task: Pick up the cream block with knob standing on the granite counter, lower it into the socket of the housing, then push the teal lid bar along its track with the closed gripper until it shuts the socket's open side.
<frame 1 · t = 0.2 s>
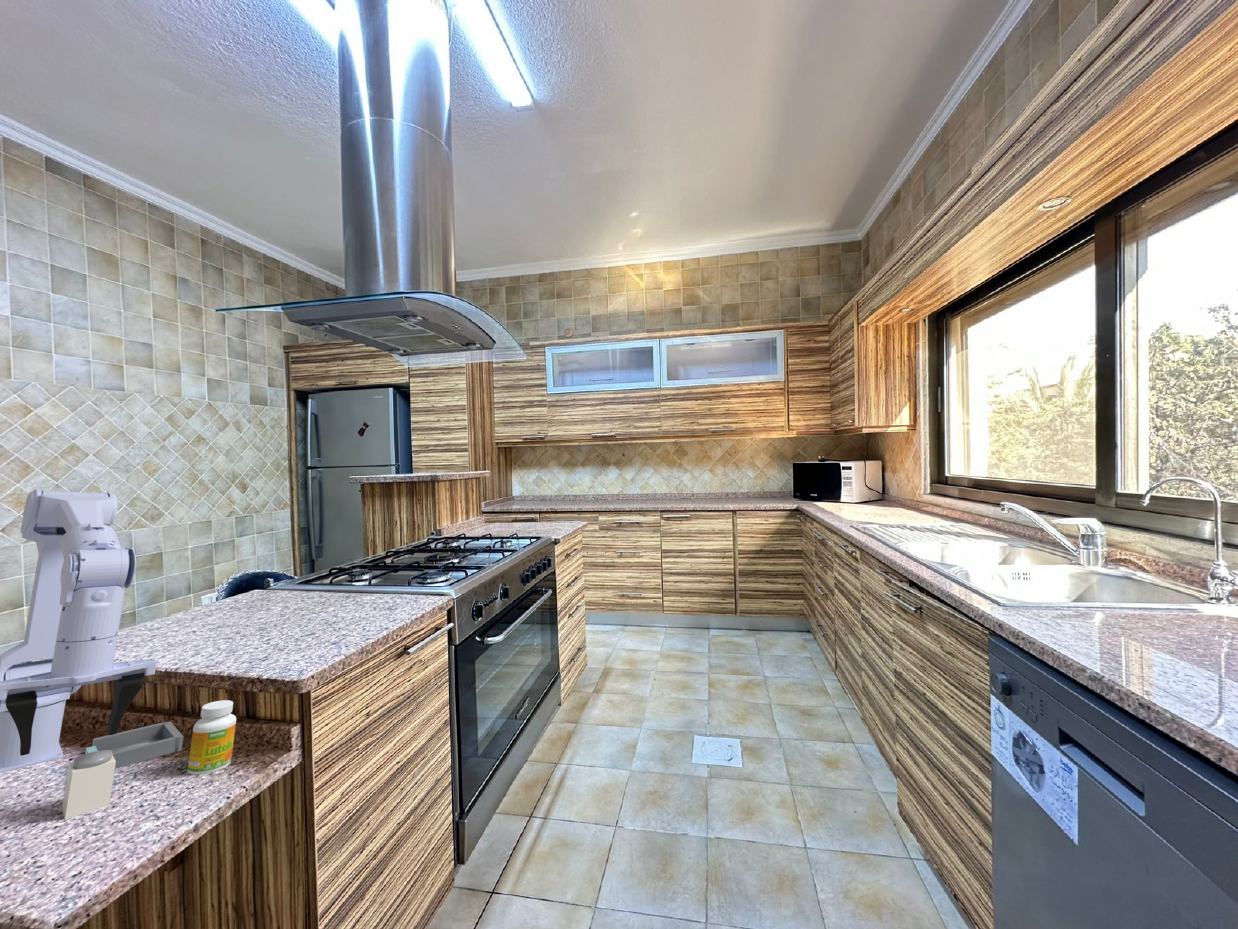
hand: (70, 742, 63), 10 cm above the counter, tool pointing down, fingers open, 7 cm apart
supplement bottle: (209, 769, 76), on the counter
lid: (95, 765, 72), point 2 cm above the counter, slide at 4.0 cm, touching housing
housing: (134, 753, 80), on the counter
cream block with knob: (85, 809, 65), on the counter
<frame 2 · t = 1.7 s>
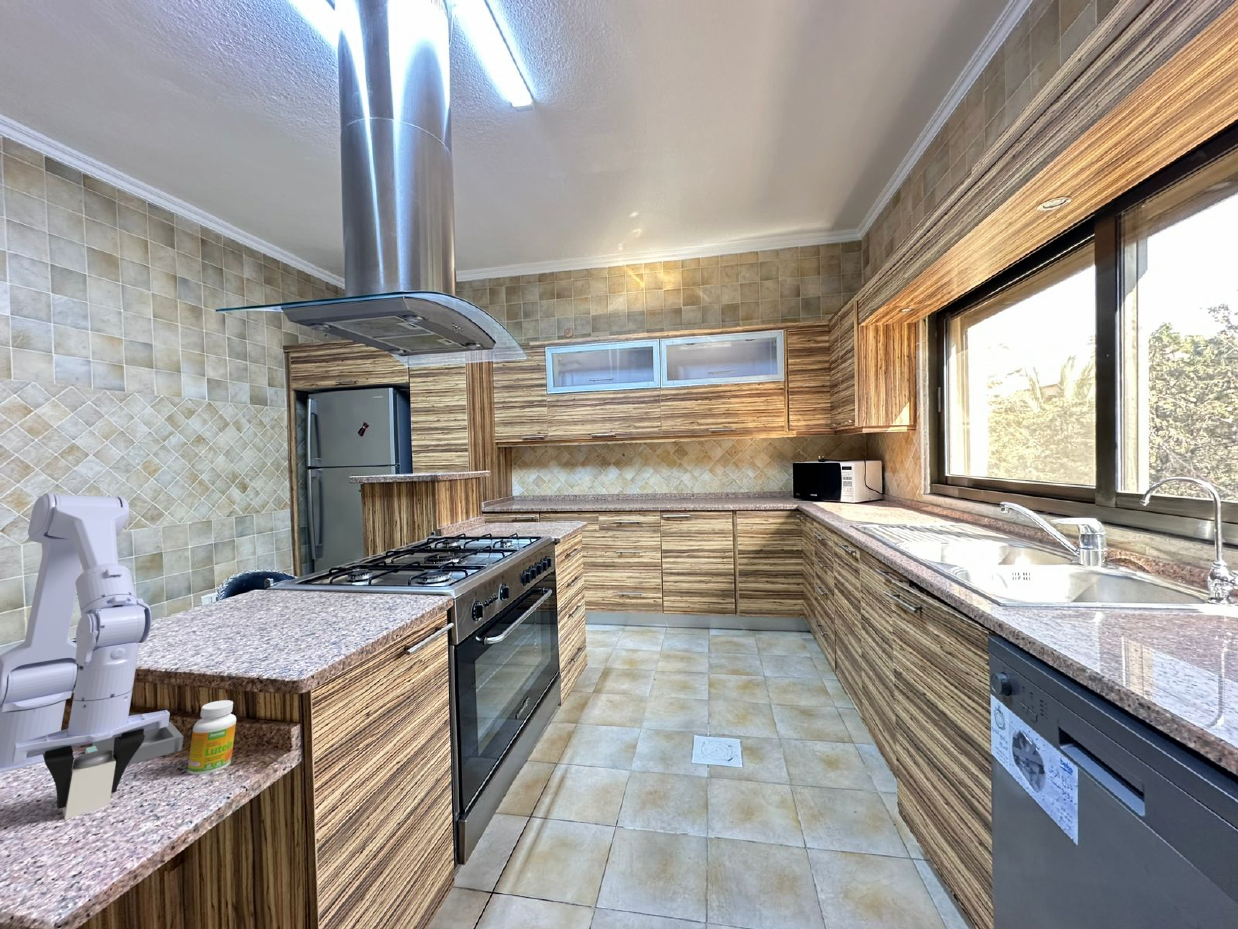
hand: (87, 797, 65), 1 cm above the counter, tool pointing down, fingers closed on cream block with knob, 4 cm apart
cream block with knob: (85, 809, 65), on the counter, touching gripper
everything else where it was.
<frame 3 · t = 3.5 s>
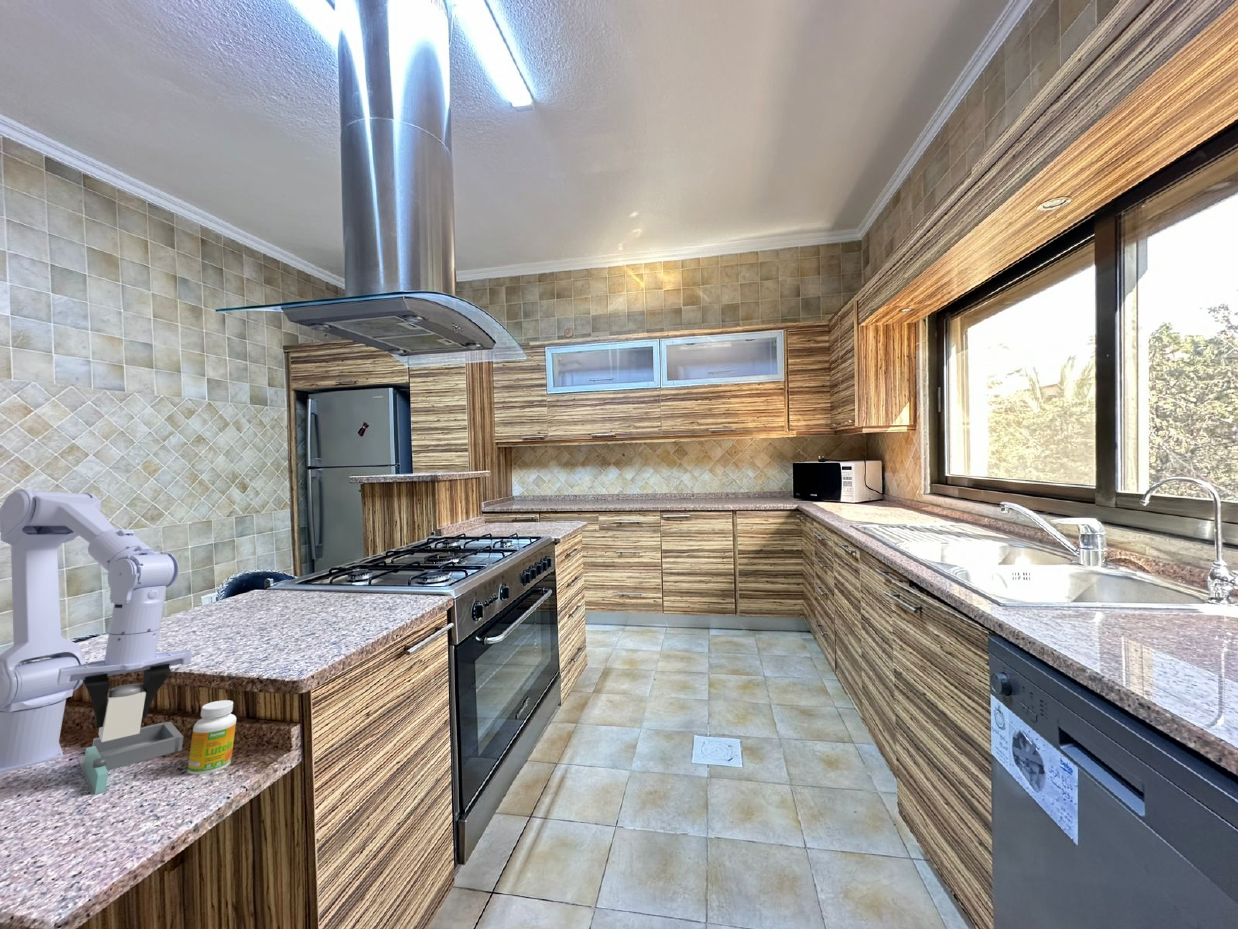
hand: (120, 721, 73), 8 cm above the counter, tool pointing down, fingers closed on cream block with knob, 4 cm apart
cream block with knob: (119, 733, 73), point 7 cm above the counter, touching gripper
everything else where it was.
when the fingers open (3 cm above the counter, at t = 5.4 s): cream block with knob stays where it is, resting on housing.
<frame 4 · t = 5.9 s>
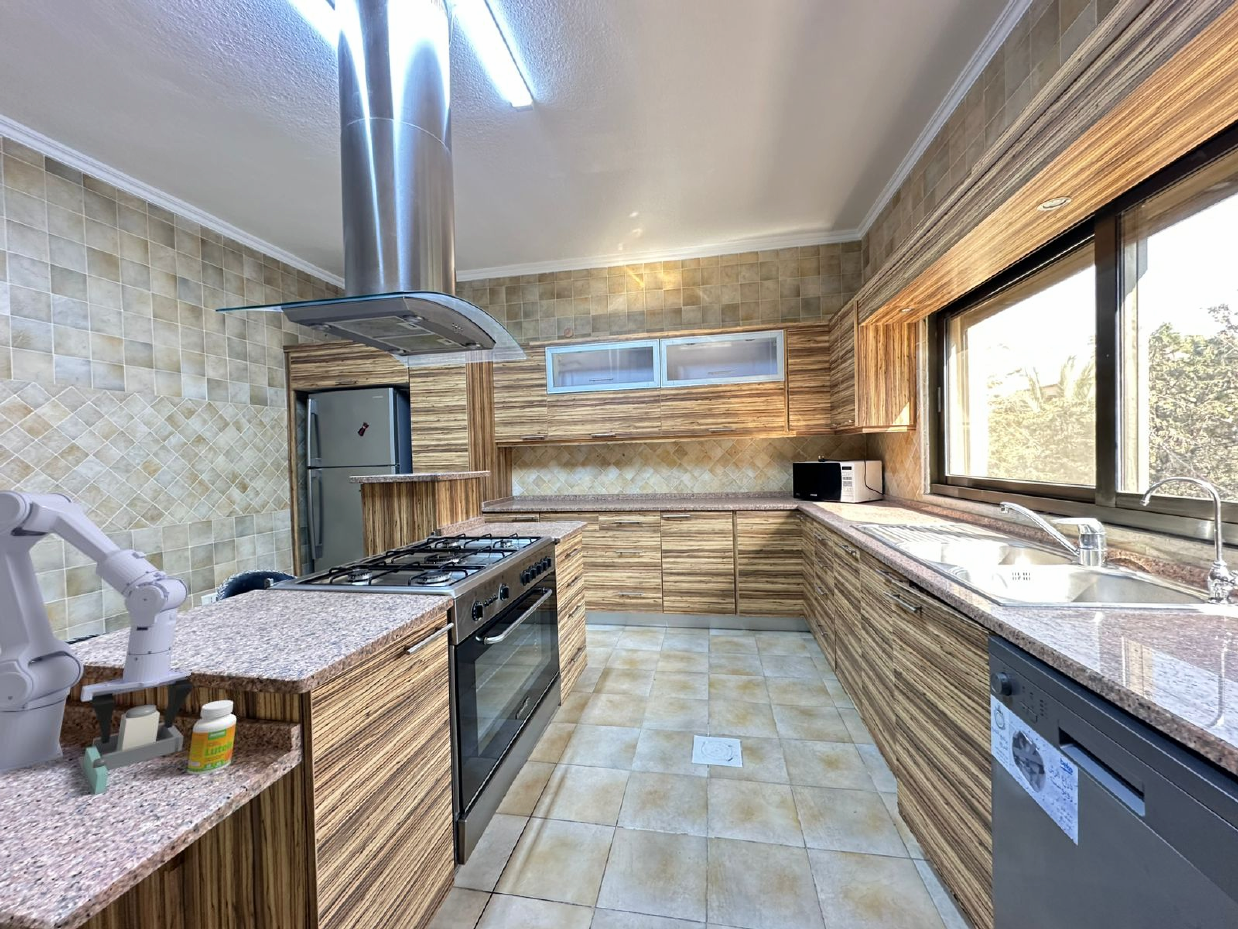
hand: (137, 733, 80), 3 cm above the counter, tool pointing down, fingers open, 7 cm apart
cream block with knob: (135, 751, 79), resting on housing
everything else where it was.
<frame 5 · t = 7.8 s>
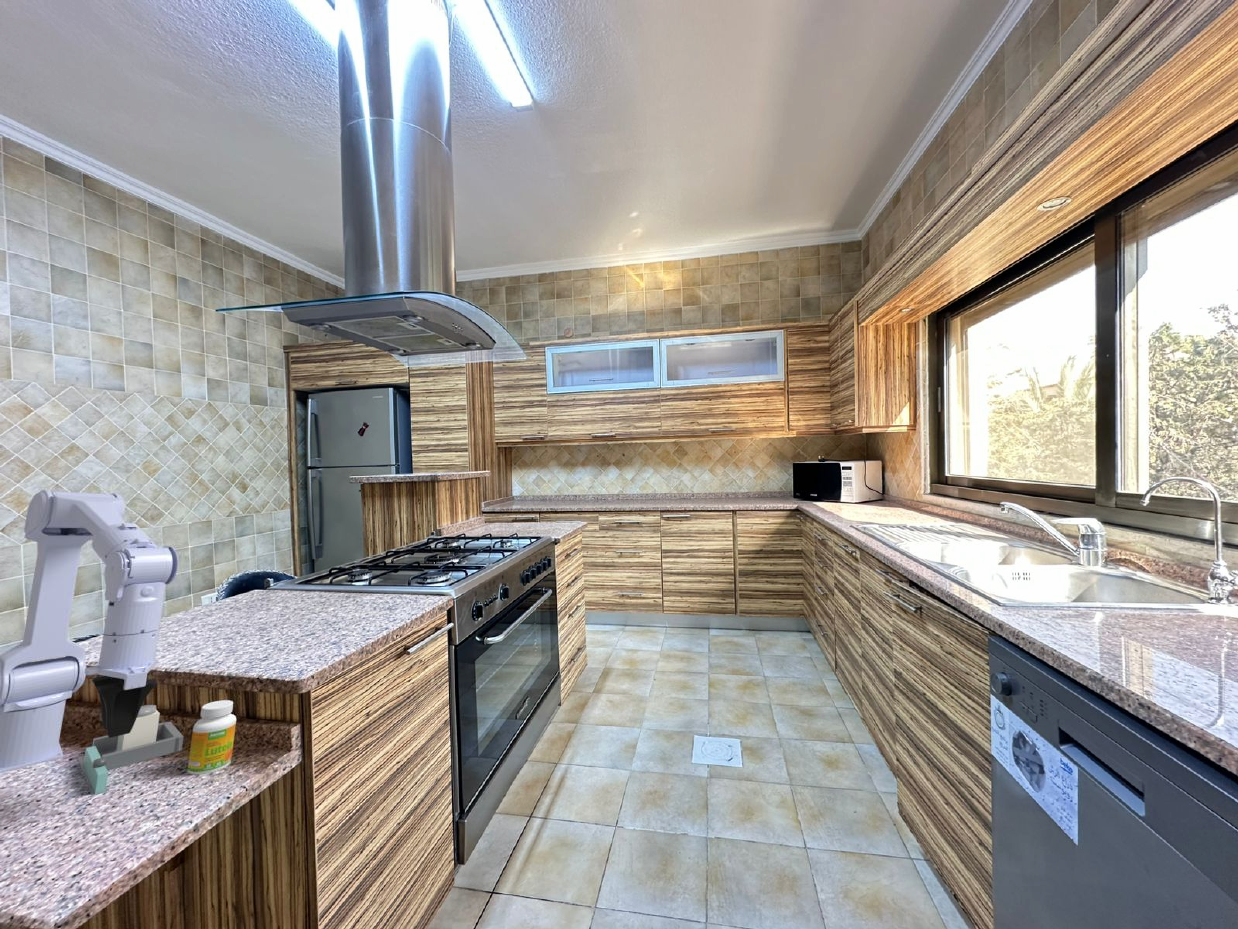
hand: (116, 730, 66), 10 cm above the counter, tool pointing down, fingers open, 3 cm apart
nothing on the counter moved.
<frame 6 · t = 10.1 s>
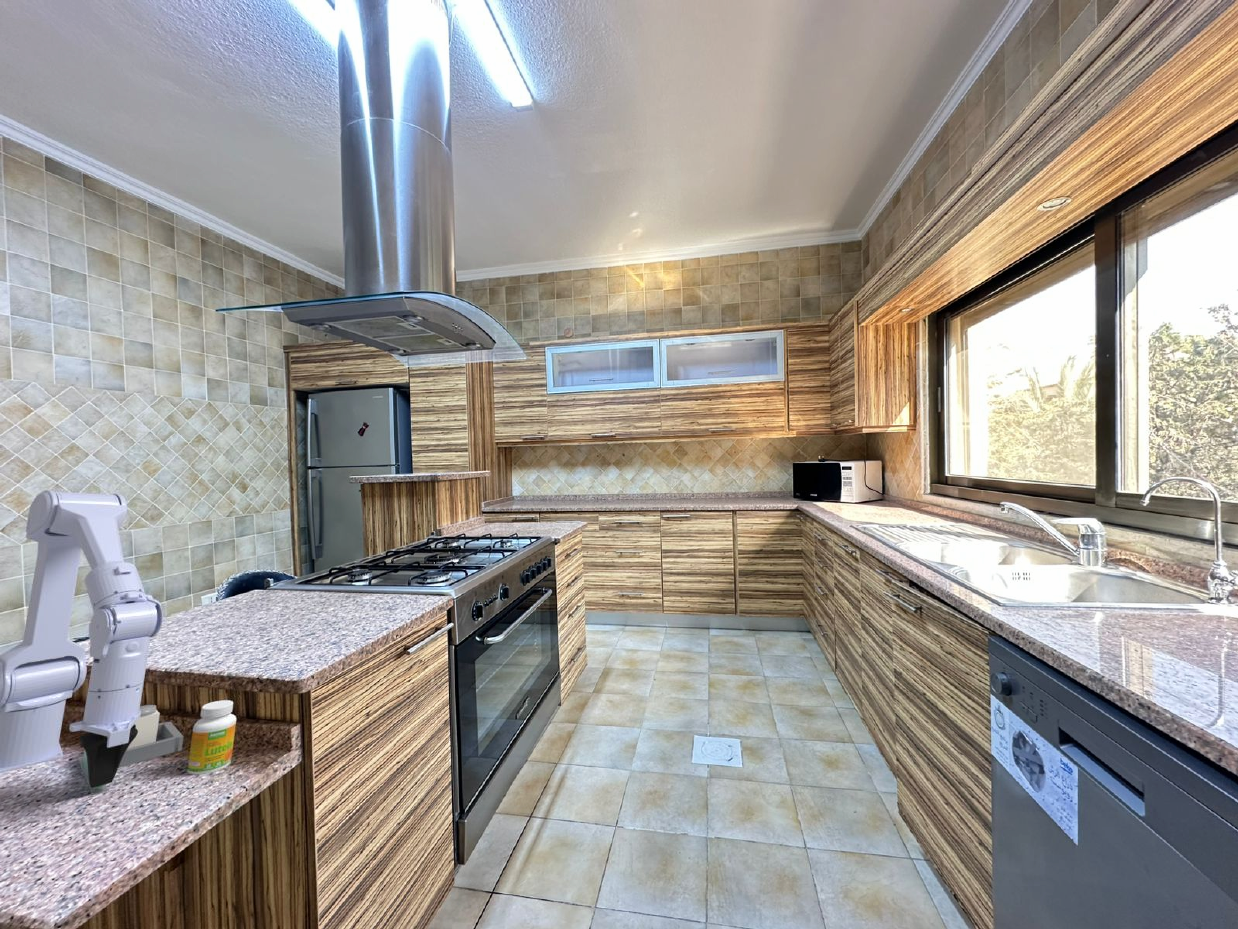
hand: (101, 784, 68), 1 cm above the counter, tool pointing down, fingers closed
lid: (94, 763, 73), point 2 cm above the counter, slide at 2.7 cm, touching gripper, housing
everything else where it was.
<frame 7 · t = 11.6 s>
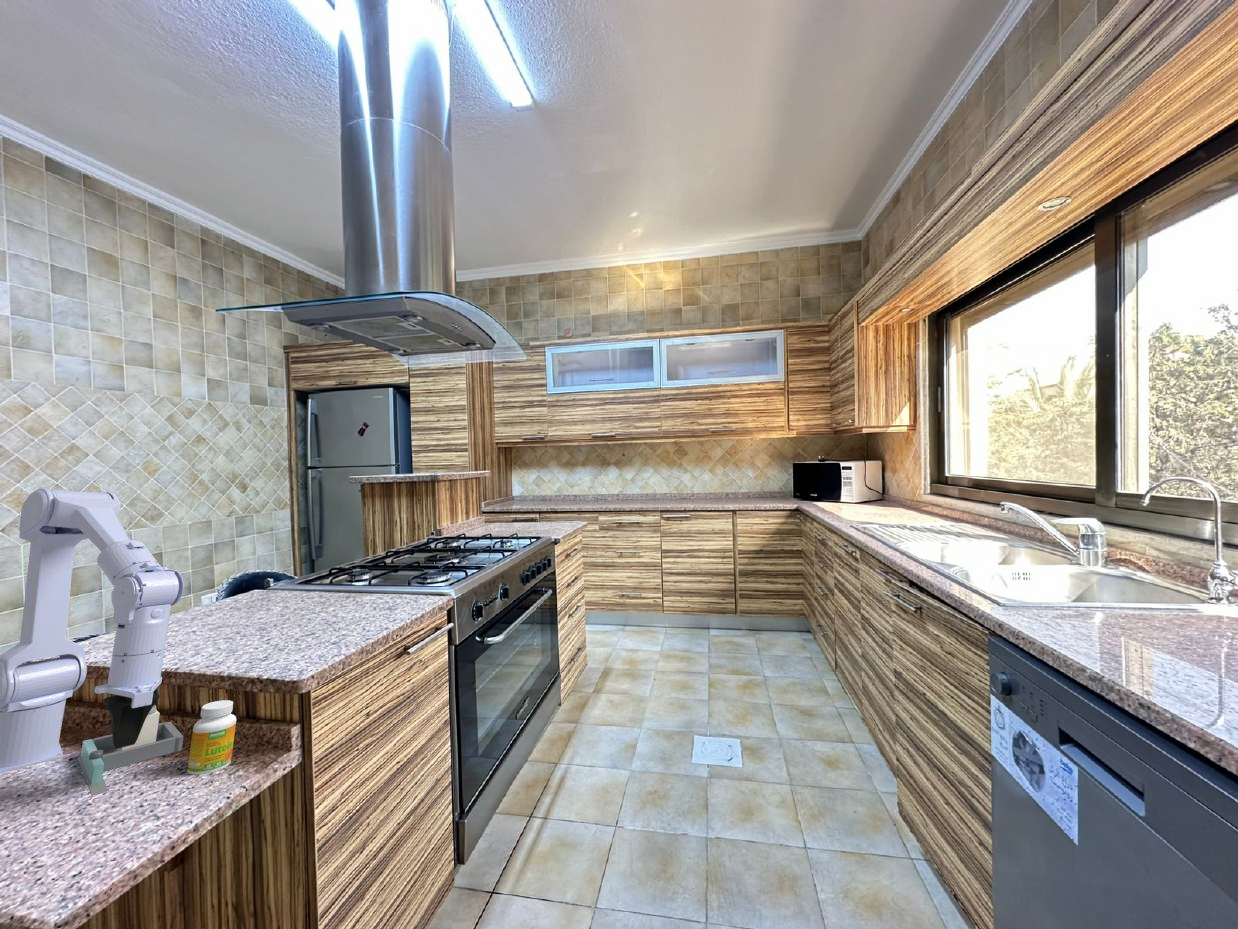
hand: (124, 745, 71), 6 cm above the counter, tool pointing down, fingers closed
lid: (92, 757, 74), point 2 cm above the counter, slide at 0.2 cm, touching housing
everything else where it was.
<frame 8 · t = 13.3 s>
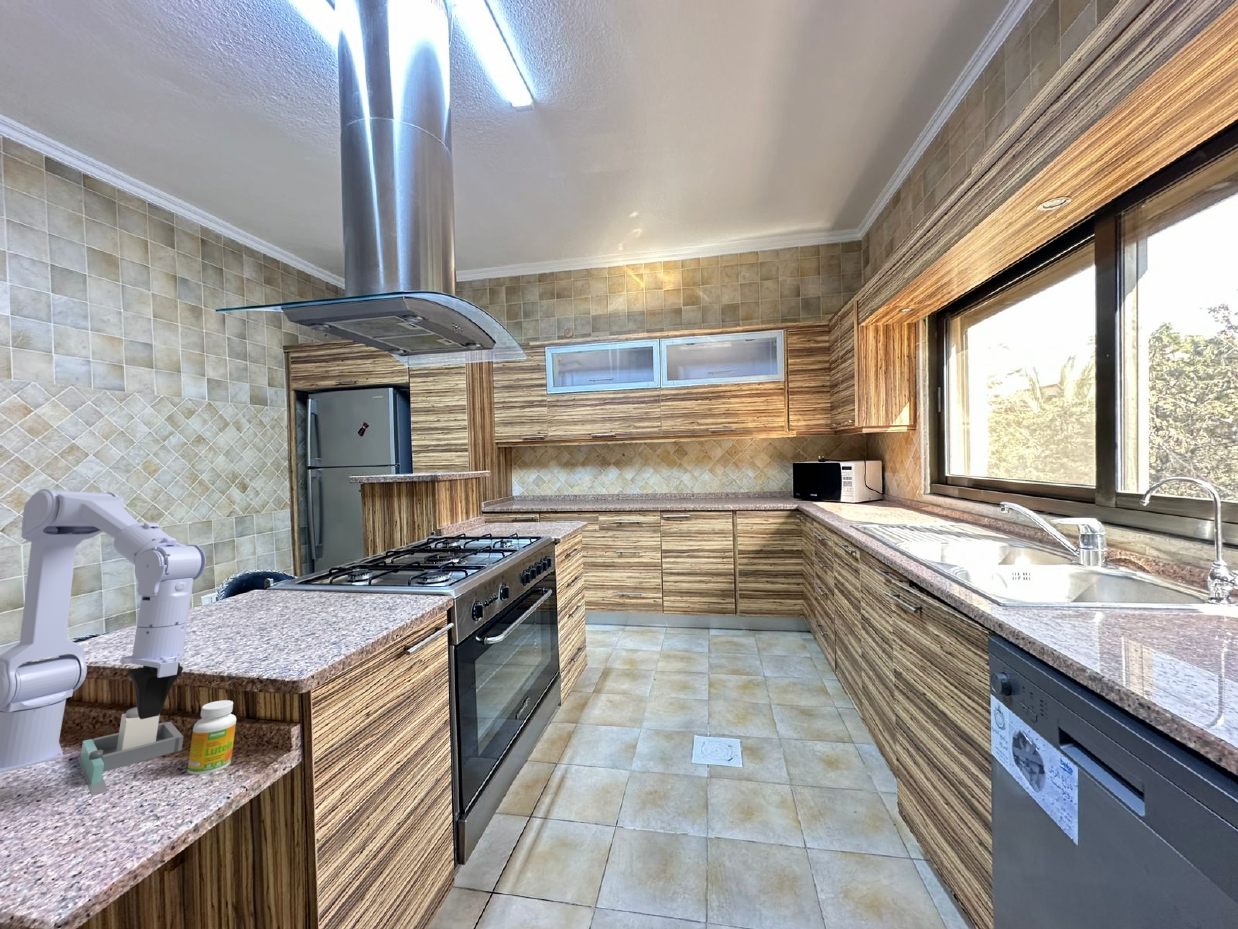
hand: (149, 716, 71), 10 cm above the counter, tool pointing down, fingers closed
nothing on the counter moved.
at the end: cream block with knob 0.4 cm from the housing (horizontally); cream block with knob tilted 0°; lid slide at 0.2 cm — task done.
